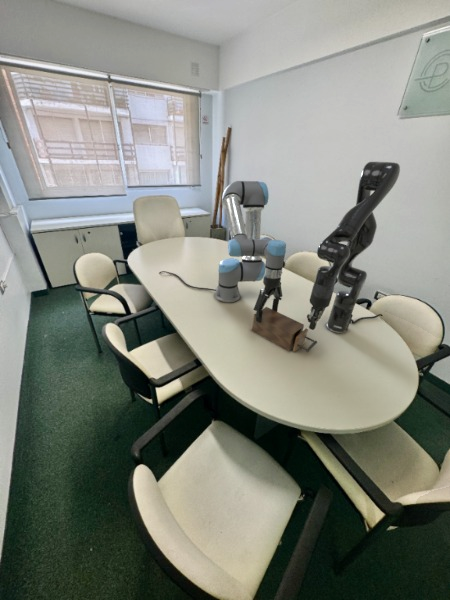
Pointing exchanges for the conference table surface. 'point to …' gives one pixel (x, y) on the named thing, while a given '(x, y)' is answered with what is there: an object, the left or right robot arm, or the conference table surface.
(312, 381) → the conference table surface
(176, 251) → the conference table surface
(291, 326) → the cabinet
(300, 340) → the drawer
